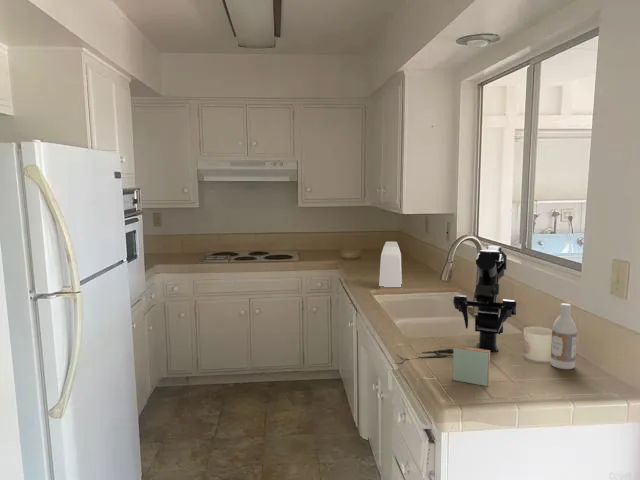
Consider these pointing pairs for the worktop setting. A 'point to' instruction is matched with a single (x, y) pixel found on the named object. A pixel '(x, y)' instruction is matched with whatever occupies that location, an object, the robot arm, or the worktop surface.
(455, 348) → the tile
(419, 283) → the worktop surface
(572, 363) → the bath foam
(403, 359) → the hacksaw
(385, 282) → the milk
